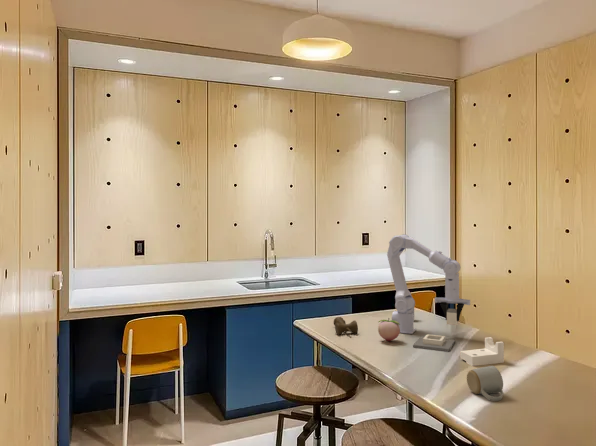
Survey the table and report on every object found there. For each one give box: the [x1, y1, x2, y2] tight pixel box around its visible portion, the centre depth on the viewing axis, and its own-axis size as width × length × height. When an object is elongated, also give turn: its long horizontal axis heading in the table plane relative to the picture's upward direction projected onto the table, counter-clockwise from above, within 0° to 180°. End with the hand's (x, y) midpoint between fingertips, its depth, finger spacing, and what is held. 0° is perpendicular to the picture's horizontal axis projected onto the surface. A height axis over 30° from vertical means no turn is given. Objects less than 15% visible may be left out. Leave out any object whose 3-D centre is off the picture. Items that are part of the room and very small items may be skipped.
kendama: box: [333, 316, 359, 336], centre depth 212 cm, size 6×10×20 cm
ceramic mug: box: [466, 365, 504, 402], centre depth 138 cm, size 11×8×8 cm
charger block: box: [446, 308, 459, 326], centre depth 199 cm, size 4×4×6 cm
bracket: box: [459, 336, 505, 367], centre depth 168 cm, size 13×7×8 cm, turn 104°
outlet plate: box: [412, 334, 456, 353], centre depth 189 cm, size 14×14×3 cm
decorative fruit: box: [377, 317, 401, 342], centre depth 195 cm, size 9×8×10 cm
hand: (452, 320), depth 199 cm, fingers closed on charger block, 4 cm apart
